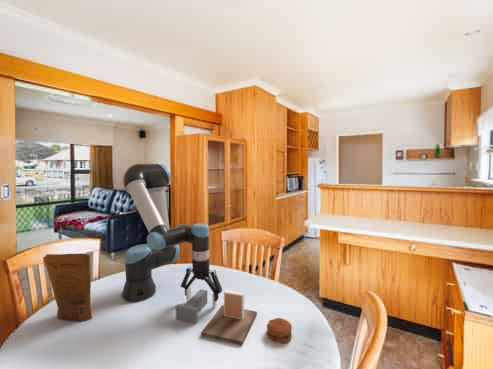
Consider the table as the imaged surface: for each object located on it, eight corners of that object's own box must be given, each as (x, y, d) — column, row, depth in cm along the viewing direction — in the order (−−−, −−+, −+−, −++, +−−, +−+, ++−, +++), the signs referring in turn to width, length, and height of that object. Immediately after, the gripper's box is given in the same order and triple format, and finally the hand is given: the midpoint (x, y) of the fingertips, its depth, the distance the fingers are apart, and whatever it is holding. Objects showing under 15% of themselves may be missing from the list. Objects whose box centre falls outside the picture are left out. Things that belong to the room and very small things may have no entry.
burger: (293, 344, 88) (294, 331, 88) (267, 344, 88) (267, 331, 88) (289, 326, 98) (289, 315, 97) (266, 326, 98) (266, 315, 98)
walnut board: (201, 335, 92) (201, 332, 92) (222, 308, 110) (222, 305, 110) (242, 345, 87) (242, 341, 87) (256, 315, 105) (256, 311, 105)
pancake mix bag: (86, 325, 98) (83, 256, 96) (44, 321, 101) (40, 253, 99) (99, 315, 105) (96, 250, 103) (59, 311, 108) (56, 248, 106)
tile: (224, 315, 102) (223, 292, 101) (226, 313, 104) (225, 289, 103) (242, 319, 100) (242, 295, 99) (244, 316, 102) (244, 292, 101)
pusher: (176, 320, 102) (176, 305, 101) (195, 300, 117) (195, 288, 116) (195, 324, 99) (195, 309, 99) (212, 304, 114) (212, 291, 113)
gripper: (172, 258, 112) (173, 304, 113) (222, 264, 104) (223, 314, 105) (181, 252, 119) (182, 296, 120) (229, 258, 111) (229, 305, 112)
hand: (201, 304), depth 113 cm, fingers open, 12 cm apart
